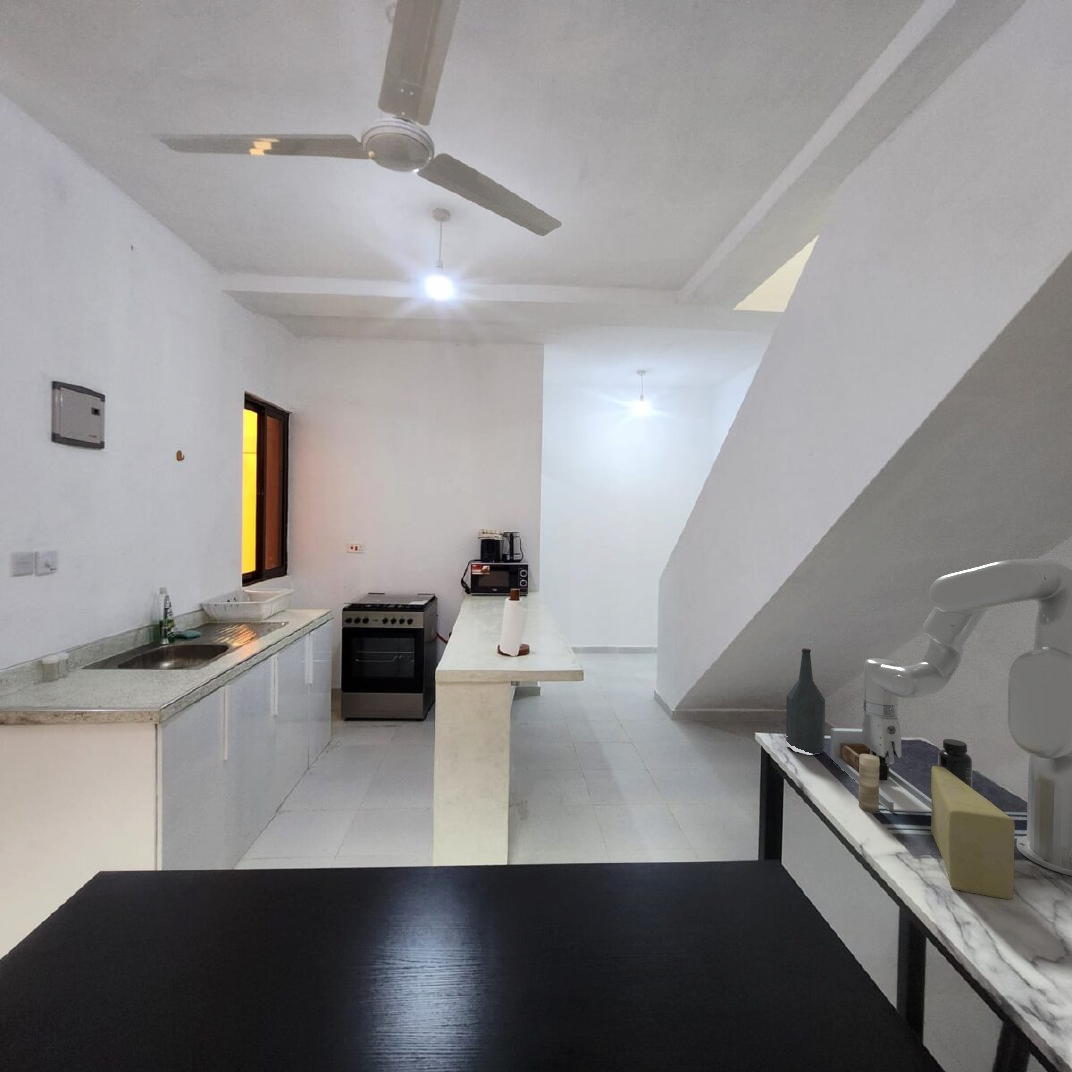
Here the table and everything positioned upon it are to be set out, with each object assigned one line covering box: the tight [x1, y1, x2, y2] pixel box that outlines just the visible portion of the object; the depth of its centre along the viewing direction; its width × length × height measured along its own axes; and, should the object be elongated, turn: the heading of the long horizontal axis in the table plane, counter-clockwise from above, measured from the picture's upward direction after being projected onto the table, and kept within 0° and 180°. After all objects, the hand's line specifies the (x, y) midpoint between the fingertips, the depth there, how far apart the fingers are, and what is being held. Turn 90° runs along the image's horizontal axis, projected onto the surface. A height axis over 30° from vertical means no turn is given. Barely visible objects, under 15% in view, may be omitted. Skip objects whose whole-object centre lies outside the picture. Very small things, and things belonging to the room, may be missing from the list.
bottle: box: [785, 648, 826, 754], centre depth 161 cm, size 10×10×30 cm
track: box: [829, 727, 932, 813], centre depth 140 cm, size 28×11×9 cm, turn 177°
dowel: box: [858, 754, 880, 813], centre depth 127 cm, size 4×4×12 cm
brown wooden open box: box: [840, 743, 890, 777], centre depth 147 cm, size 9×8×5 cm
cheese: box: [930, 765, 1016, 900], centre depth 107 cm, size 22×10×15 cm, turn 162°
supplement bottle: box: [937, 738, 973, 789], centre depth 137 cm, size 7×7×12 cm
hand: (879, 778), depth 140 cm, fingers closed
